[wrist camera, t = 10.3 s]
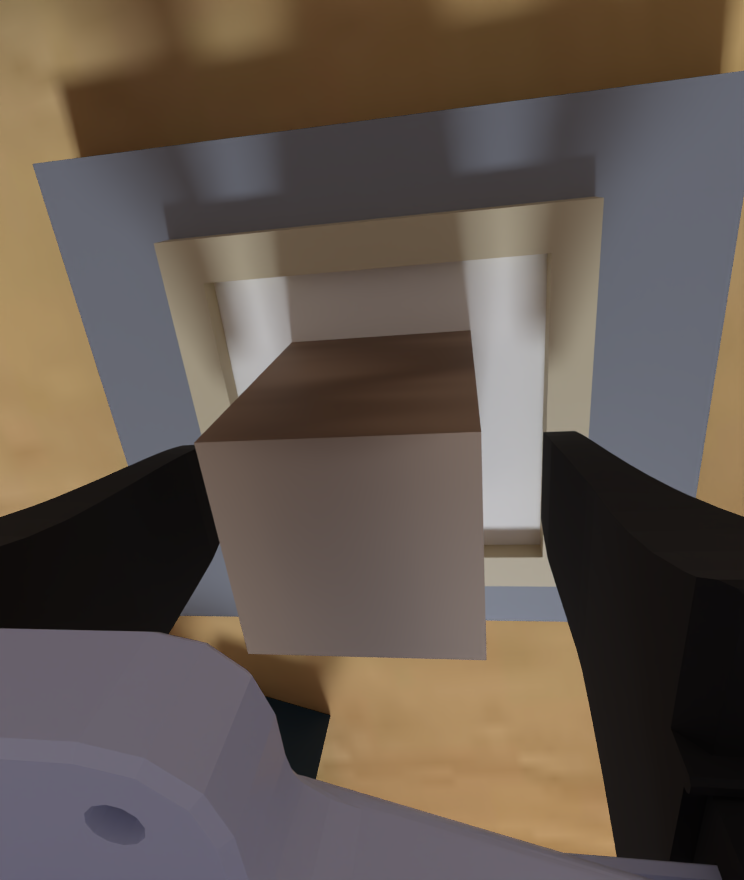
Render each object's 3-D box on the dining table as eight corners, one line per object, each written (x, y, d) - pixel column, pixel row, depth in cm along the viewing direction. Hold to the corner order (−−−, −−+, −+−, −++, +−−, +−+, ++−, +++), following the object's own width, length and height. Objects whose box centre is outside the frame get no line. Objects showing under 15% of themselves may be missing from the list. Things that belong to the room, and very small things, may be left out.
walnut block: (470, 330, 14) (481, 431, 8) (475, 491, 15) (486, 660, 10) (291, 342, 14) (193, 442, 9) (316, 494, 16) (248, 653, 11)
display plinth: (719, 83, 13) (786, 60, 10) (654, 579, 18) (685, 643, 16) (82, 165, 15) (8, 163, 13) (199, 578, 21) (164, 632, 19)
